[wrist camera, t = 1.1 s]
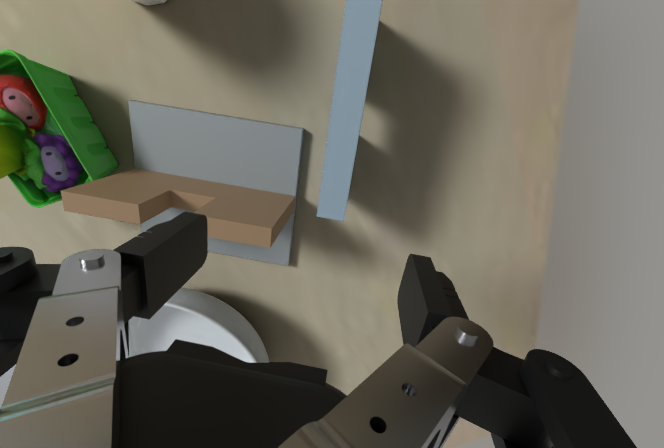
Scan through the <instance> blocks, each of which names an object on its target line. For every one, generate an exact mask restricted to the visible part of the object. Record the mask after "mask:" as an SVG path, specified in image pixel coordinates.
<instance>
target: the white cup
mask: <svg viewBox="0 0 664 448" xmlns="http://www.w3.org/2000/svg"><path fill="white" fill-rule="evenodd" d="M133 1H135V2H138V3H141V4H144V5H147V6H148V5H155V4H161V3H165V2H166V1H167V0H133Z"/></svg>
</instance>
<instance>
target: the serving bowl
mask: <svg viewBox="0 0 664 448" xmlns="http://www.w3.org/2000/svg"><path fill="white" fill-rule="evenodd" d="M129 325H130V350H131V357H132V356H135V355H139V354H143V353H149V352H156V351H167V349H168V348H169V347H170V346H171V344H172V343H173V342H174V341H175V339H178V340H183V341H188V342H192V343H197V344H202V345H207V346H212V347H214V348H217V349H219V350H221V351H223V352H225V353H227V354H229V355H231V356H234V357H236V358H238V359H240V360H242V361H245V362H249V363H267V362H269V358H268V355H267V352H266V349H265V347H264V344H263V342H262V340H261V339H260V337H259V335H258V334H257V332H256V331H255V329H254V328H253V327H252V325H251V324H250V323H249V322H248V321H247V320H246V319H245V318H244V317H243V316H242V315H241V314H240V313H239V312H238V311H236V310H235V309H234V308H232V307H231V306H229V305H228V304H226V303H225V302H223V301H221V300H219V299H217V298H215V297H213V296H211V295H208V294H206V293H203V292H199V291H196V290H192V289H187V288H180V289H179V290H178V291H177V292H176V293H175V294H174V295H173V296H172V297H171V298H170V299H169V300H168V301H167V302H166V303H165V304H164V305H163V306H162V307H161V308H160V309H159V310H158V311H157V312H156V313H155V314H154V315H153V316H152V317H151V318H150V320H149V319H144V318H139V317H134V316H133V317H132V318H131V319H130V320H129Z"/></svg>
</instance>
